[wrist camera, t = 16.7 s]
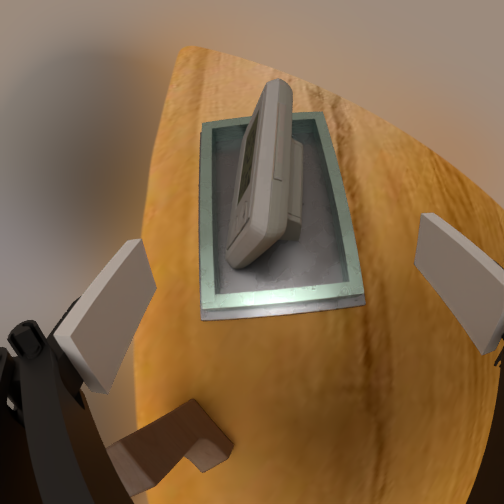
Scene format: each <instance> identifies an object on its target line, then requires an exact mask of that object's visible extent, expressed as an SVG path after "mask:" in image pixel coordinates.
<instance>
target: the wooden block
mask: <svg viewBox="0 0 504 504" xmlns="http://www.w3.org/2000/svg"><path fill="white" fill-rule="evenodd" d="M233 447H234V445H233V444H232V443H231V441H230V440H229V439H228V438H227V437H226V436H225V435H224V434H223V433H222V431H221V430H220V429H219V428H218V427H217V426H216V425H215V423H214V422H213V421H212V420H211V419H210V418H209V416H208V415H207V414H206V413H205V412H204V410H203V409H202V408H201V407H200V406H199V404H198V403H197V402H196V401H195V400H194V399H191V400H189V401H188V402H186V403H184V404H183V405H181V406H179V407H178V408H176V409H174V410H173V411H171V412H169V413H168V414H166V415H164V416H162V417H161V418H159V419H157V420H155V421H154V422H152V423H150V424H148V425H147V426H145V427H143V428H141V429H139V430H137V431H136V432H134V433H132V434H130V435H128V436H126V437H124V438H122V439H120V440H119V441H117V442H115V443H113V444H112V445H110V446H108V447H107V448H105V449H106V451H107V453H108V455H109V457H110V460H111V462H112V464H113V466H114V468H115V470H116V472H117V474H118V476H119V478H120V480H121V481H122V483H123V485H124V487H125V489H126V491H127V492H128V494H129V496H130V497H132V496H134V495H137V494H139V493H141V492H143V491H146V490H148V489H151V488H153V487H155V486H156V485H157V484H158V483H159V482H160V481H161V480H162V479H163V478H164V477H165V476H166V475H167V474H168V473H169V472H170V471H171V469H172V468H173V467H174V466H175V465H176V464H177V463H178V462H179V461H180V460H181V459H182V458H183V457H186V458H187V459H189V460H190V461H191V462H192V463H193V464H194V465H195V466H196V467H197V468H198V469H199V470H200V471H201V472H202V473H203V472H206V471H208V470H210V469H211V468H213V467H215V466H217V465H218V464H220V463H222V462H224V461H225V460H227V459H228V458H229V456H230V454H231V451H232V449H233Z"/></svg>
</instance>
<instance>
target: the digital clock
mask: <svg viewBox="0 0 504 504" xmlns="http://www.w3.org/2000/svg"><path fill="white" fill-rule="evenodd" d="M292 104H293V93H292V89H291V88H290V86H289V85H288V84H287V83H286V82H285V81H283V80H281V79H279V78H278V79H275V80H272V81H269V82H267V83H266V85H265V87H264V89H263V91H262V94H261V96H260V98H259V101H258V103H257V105H256V108H255V110H254V112H253V115H252V117H251V119H250V122H249V124H248V127H247V129H246V131H245V134H244V136H243V139H242V143H241V149H240V155H239V162H238V168H237V175H236V181H235V188H234V195H233V201H232V208H231V215H230V222H229V230H228V237H227V245H226V252H225V260H226V261H227V262H228V263H229V265H230V266H231V267H232V268H235V269H240V268H244V267H246V266H248V265H249V264H251V263H252V262H253V261H254V260H256V259H257V258H258V257H259V256H260V255H261V254H262V253H264V252H265V251H266V250H267V249H268V248H269V247H271V246H272V245H273V244H274V243H275V242H276V241H277V240H290V241H298V240H299V238H300V233H301V227H302V198H303V145H302V143H300V142H298V141H296V140H294V139H293V138H292Z"/></svg>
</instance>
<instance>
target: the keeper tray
mask: <svg viewBox="0 0 504 504" xmlns="http://www.w3.org/2000/svg"><path fill="white" fill-rule="evenodd" d="M251 117H252V116H250V117H241V118H233V119H226V120H219V121H212V122H206V123H202V132H201V133H200V161H199V281H200V309H201V321H216V320H233V319H247V318H260V317H271V316H282V315H292V314H302V313H311V312H320V311H328V310H336V309H344V308H351V307H358V306H364V305H366V304H365V296H364V289H363V282H362V275H361V269H360V263H359V257H358V252H357V246H356V241H355V236H354V231H353V226H352V221H351V216H350V212H349V207H348V203H347V198H346V194H345V190H344V186H343V182H342V178H341V174H340V170H339V166H338V162H337V158H336V155H335V151H334V148H333V144H332V141H331V137H330V134H329V130H328V127H327V124H326V121H325V117H324V114H323V112H300V113H292V138H293V139H294V140H296V141H298V142H300V143H302V145H303V198H302V227H301V233H300V238H299V240H298V241H290V240H277V241H276V242H275V243H274V244H273V245H272V246H271V247H269V248H268V249H267V250H266V251H265V252H264V253H262V254H261V255H260V256H259V257H258V258H257V259H256V260H254V261H253V262H252V263H251V264H249V265H248V266H246V267H244V268H240V269H235V268H232V267H231V266H230V265H229V263H228V262H227V261H226V260H225V252H226V245H227V237H228V230H229V222H230V215H231V208H232V201H233V195H234V188H235V181H236V175H237V168H238V162H239V155H240V149H241V143H242V139H243V136H244V134H245V131H246V129H247V127H248V124H249V122H250V119H251Z"/></svg>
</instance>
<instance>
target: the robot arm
mask: <svg viewBox="0 0 504 504" xmlns="http://www.w3.org/2000/svg"><path fill="white" fill-rule="evenodd" d="M414 265H415V266H416V267H417V268H418V270H419V271H420V272H421V273H422V274H423V276H424V277H425V278H426V279H427V281H428V282H429V283H430V284H431V285H432V287H433V288H434V289H435V291H436V292H437V293H438V294H439V296H440V297H441V298H442V300H443V301H444V302H445V303H446V305H447V306H448V307H449V309H450V310H451V311H452V313H453V314H454V316H455V317H456V318H457V320H458V321H459V322H460V324H461V325H462V327H463V328H464V330H465V331H466V332H467V334H468V335H469V337H470V338H471V340H472V341H473V343H474V344H475V346H476V347H477V349H478V350H479V352H480V353H481V355H484V354H487V353H489V352H492V351H494V350H495V349H496V347H497V346H498V344H499V342H500V340H501V338H502V339H503V340H504V270H503V268H502V267H501V266H500V265H499V264H498V263H497V262H495V261H494V260H492V259H491V258H490V257H489V256H488V255H487V254H485V253H484V252H483V251H482V250H481V249H479V248H478V247H477V246H476V245H475V244H473V243H472V242H471V241H470V240H469V239H467V238H466V237H465V236H464V235H462V234H461V233H460V232H458V231H457V230H456V229H455V228H453V227H452V226H451V225H449V224H448V223H447V222H445V221H444V220H443V219H441V218H440V217H439V216H437V215H436V214H434V213H421V219H420V227H419V235H418V242H417V249H416V255H415V261H414ZM156 289H157V287H156V284H155V281H154V278H153V275H152V272H151V269H150V265H149V262H148V259H147V255H146V252H145V248H144V245H143V241H142V239H134V240H128V241H127V242H126V243H125V244H124V245H123V246H122V247H121V248H120V250H119V251H118V252H117V253H116V254H115V256H114V257H113V258H112V259H111V260H110V261H109V263H108V264H107V265H106V266H105V267H104V269H103V270H102V271H101V272H100V273H99V275H98V276H97V277H96V278H95V280H94V281H93V282H92V283H91V285H90V286H89V287H88V288H87V290H86V291H85V292H84V293H83V295H82V296H80V297H79V298H78V299H77V300H75V301H74V302H73V303H72V304H71V306H70V307H69V308H68V310H67V312H66V313H65V314H64V315H63V317H62V319H60V321H59V322H58V323H57V325H56V326H55V328H54V329H53V330H52V332H51V333H50V334H49V336H48V337H47V339H46V338H45V336H44V335H43V333H42V331H41V330H40V328H39V326H38V324H37V323H36V321H34V320H27V321H24V322H22V323H20V324H19V325H17V326H16V327H15V328H14V329H13V330H12V331H11V332H10V334H9V336H8V339H7V340H8V342H9V343H10V345H11V346H12V348H13V349H14V351H15V352H16V354H17V355H18V356H16V357H12V356H11V355H10V353H9V352H8V351H7V349H6V348H4V347H0V504H134V503H133V501H132V499H131V498H130V496H129V494H128V492H127V491H126V489H125V487H124V485H123V483H122V481H121V480H120V478H119V476H118V474H117V472H116V470H115V468H114V466H113V464H112V462H111V460H110V457H109V455H108V453H107V451H106V449H105V447H104V445H103V442H102V440H101V438H100V435H99V432H98V430H97V428H96V425H95V422H94V420H93V417H92V415H91V412H90V409H89V406H88V403H87V401H86V398H85V395H84V393H83V392H82V391H81V389H80V388H81V385H82V384H83V381H84V382H85V384H86V385H87V386H88V388H89V389H90V390H91V391H92V392H96V393H103V394H109V391H110V389H111V387H112V384H113V382H114V379H115V377H116V375H117V372H118V370H119V368H120V365H121V363H122V361H123V358H124V356H125V354H126V352H127V350H128V347H129V345H130V343H131V341H132V339H133V336H134V334H135V332H136V330H137V328H138V326H139V324H140V321H141V319H142V317H143V315H144V313H145V311H146V309H147V307H148V305H149V303H150V301H151V299H152V297H153V295H154V293H155V291H156ZM500 360H501V364H500V366H499V367H500V378H499V386H498V393H497V399H496V405H495V410H494V415H493V420H492V425H491V429H490V433H489V437H488V441H487V445H486V449H485V452H484V455H483V459H482V462H481V465H480V468H479V471H478V474H477V477H476V480H475V482H474V485H473V488H472V490H471V493H470V495H469V498H468V500H467V502H466V504H504V347H503V349H502V351H501V352H500V354H499V356H498V358H497V359H496V361H495V364H494V366H496V365H497V364H498V362H499V361H500ZM7 397H8V398H9V399H10V400H11V402H12V403H13V404H14V409H13V410H12V409H11V408H10V407H9V406H8V405H7Z"/></svg>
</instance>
